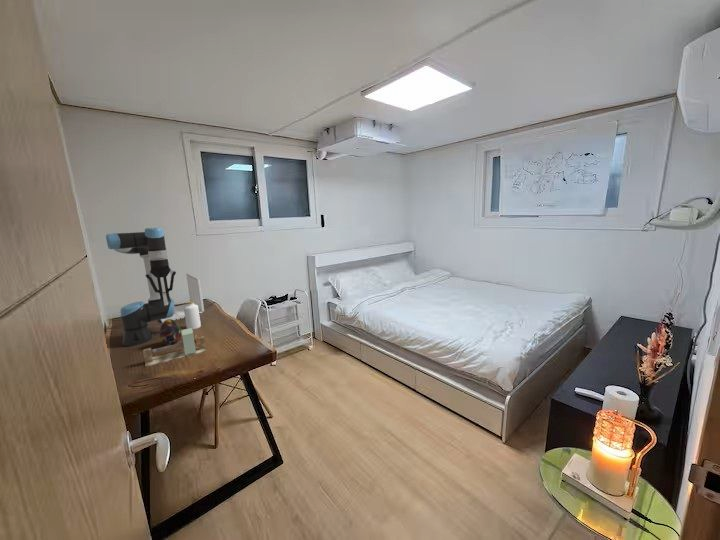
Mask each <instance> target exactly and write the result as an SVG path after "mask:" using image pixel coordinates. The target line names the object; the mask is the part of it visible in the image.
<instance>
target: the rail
mask: <svg viewBox="0 0 720 540" xmlns="http://www.w3.org/2000/svg"><path fill="white" fill-rule="evenodd" d="M194 342H195V349H196V353H192V354H187V355H185V351H184V349H182V350H177V351H173V352H169V353H165V354H159V355H156V356H153V354H155V353H160V352H163V351H168V350H172V349H176V348H179V347H184V344H183V342H179V343H178V344H174V345H170V346H166V345H165V346H162V347H158V348H157V347H156V348H153V349H152V347H148V348H145V349H143V350H142V354H143V357H144V358H143V359H144V363H145V364H144V367H150V366H154V365H159V364H162V363H166V362H170V360H171V361H175V360H178V358H179V359H182V357H183V358H186V357H185V356H187V357H190V356H194V355H198V354H202V352H203V353H205V352H206V353H207V349H206V341H205V336H204V335H202V336H201V335H200V336H198V334H197V333H196V334H194ZM174 359H175V360H174Z"/></svg>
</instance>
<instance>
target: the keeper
mask: <svg viewBox="0 0 720 540" xmlns="http://www.w3.org/2000/svg"><path fill="white" fill-rule="evenodd" d="M193 330H194V329H193ZM193 330H192V328H189V329H187V328H185V329H181V332H182V337H181V339H182V343H183V344H184V346H183V350H184V351H185V355H187V354H192V353H196V349H195V347H196V343H195V342H194V340H195V334H194V331H193Z"/></svg>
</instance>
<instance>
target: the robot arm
mask: <svg viewBox="0 0 720 540" xmlns="http://www.w3.org/2000/svg"><path fill="white" fill-rule="evenodd" d="M163 229H164V228H162V227H147V228H145V229H144V231H136V232H121V233H120V232H115V233H114V232H113V233H107V234H106V235H105V238H106V239H105V240H106V244H107V249H109V250H114V251H115V252H117V253H120V254H126V255H127V254H128V255H129V254H130V255H137V254H139V257H140V258H141V259H143V265H144V270H145V278H146V279H147V286H148V291H149V296H150V297H149V298H148V299H147V303H145V302H144V301H136V302H131V303H129V304H127V305H126V304H125V305H124V306H122V307H121V308H120V317H121V322H122V327H123V336H122V340H121V342H122V346H125V347H132V346H133V347H134V346H138V345H142V344H146V343H148V342H149V341H151V340H153V339H154V333H153V332H152V330H151V329H150V327H149V324H148V323H151V322H155V321H159V320H160V321H161V319H166V318H170V317H172V316H173V315H174V306H175V302H174V301H175V300H174V298H171V296H170V291H173V286H174V281H175V275H176V274H177V272H176V270H172V269H171V267H170V264H169V259H168V253H167V252H168V251H167V246H166V240H165V239H166V238H165V233H164V230H163ZM169 274H170V282H169V285H168V275H169Z"/></svg>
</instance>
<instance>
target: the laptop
mask: <svg viewBox="0 0 720 540" xmlns="http://www.w3.org/2000/svg"><path fill="white" fill-rule="evenodd" d="M185 275H186V280H187V286H188V293H189V300H190V301H194V304H195V305H198V308H199V313H201V314H203V313H204V312H205V306H204V299H203V293H202V286H201V279H200V278H198V277H197V276H194V275H192V274H191V273H186V274H185ZM190 301H189V302H190ZM185 306H187V303H185V304H179V305H174V315H173V316H172V317H170V318H166V319H161V320H160V322H161V323H162V324H163V322H164V321H165V320H167V319H172V320H174V321H177V320H180V318H181V319H185V318H184V317H185V314H184V307H185ZM176 319H177V320H176Z"/></svg>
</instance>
